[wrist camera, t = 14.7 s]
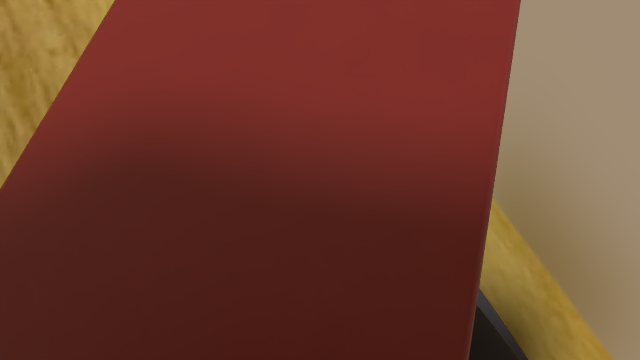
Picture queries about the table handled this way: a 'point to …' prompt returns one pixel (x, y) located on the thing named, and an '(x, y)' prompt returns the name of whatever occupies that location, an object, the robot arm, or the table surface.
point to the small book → (261, 184)
